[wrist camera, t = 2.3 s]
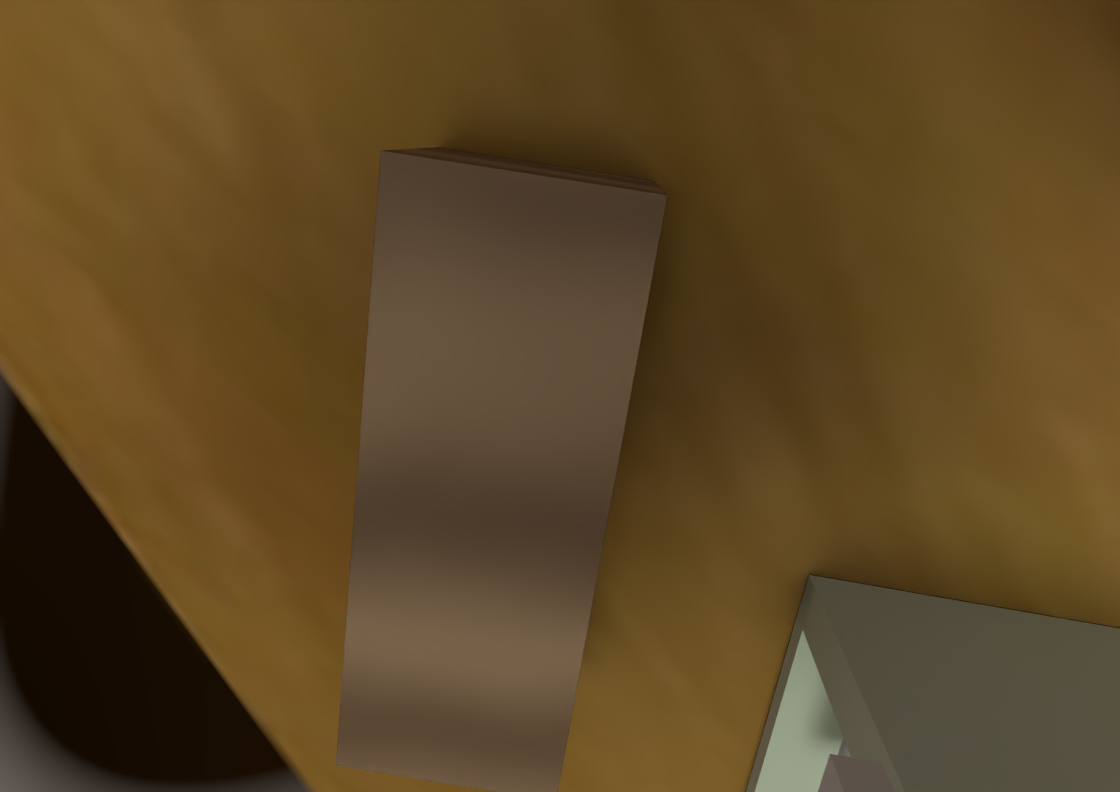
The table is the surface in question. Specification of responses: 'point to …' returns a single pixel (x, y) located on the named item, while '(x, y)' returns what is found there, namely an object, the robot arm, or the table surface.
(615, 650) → the table surface
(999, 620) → the open storage box
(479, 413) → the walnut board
